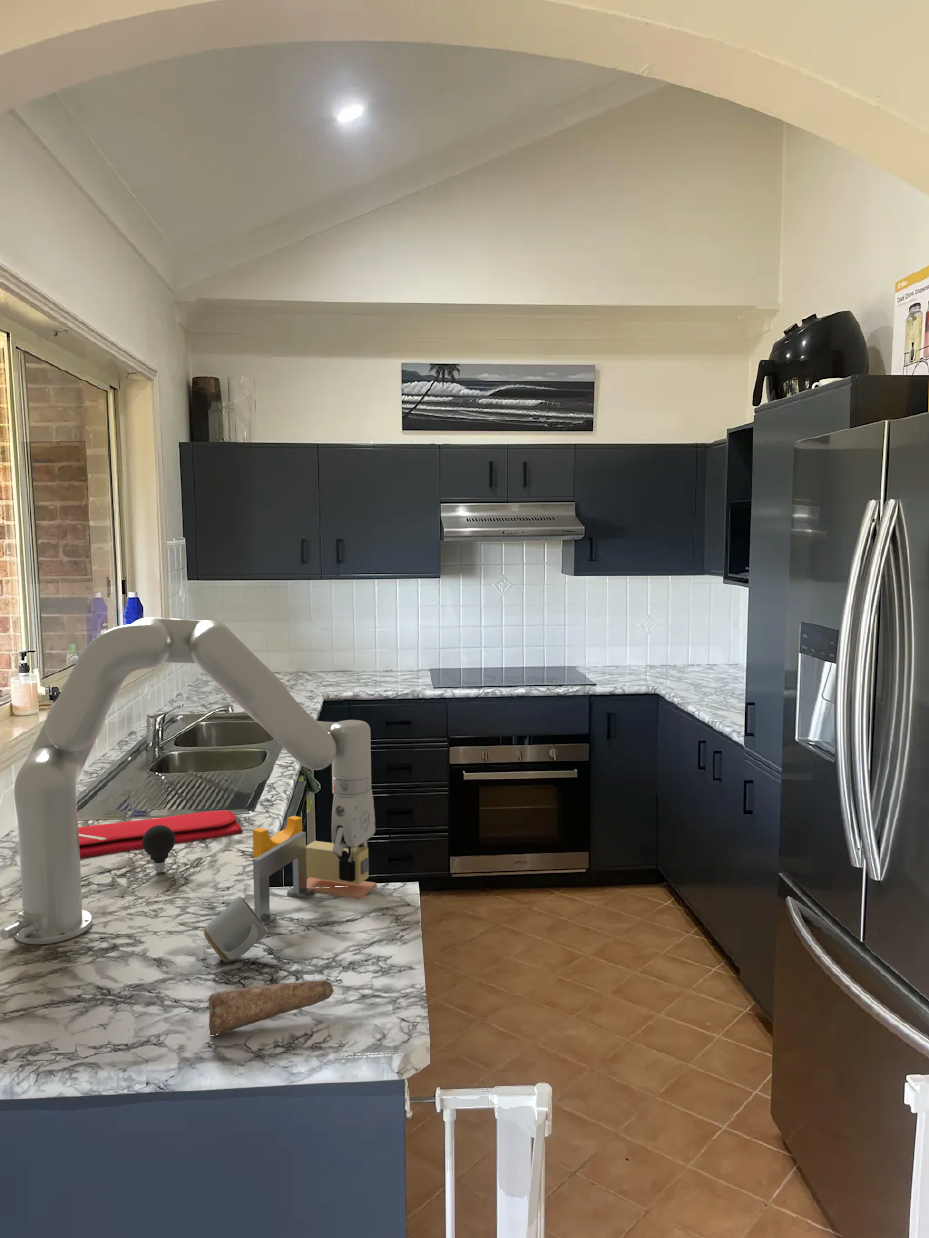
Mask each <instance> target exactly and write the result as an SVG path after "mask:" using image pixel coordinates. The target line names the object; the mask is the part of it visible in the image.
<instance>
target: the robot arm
mask: <svg viewBox="0 0 929 1238" xmlns="http://www.w3.org/2000/svg"><path fill="white" fill-rule="evenodd" d="M164 663H172V664H175V663H176V664H196V666H198V667H199V668H200V669H201V670H202V671H203V672H204V673H205V674H206V675H207V676H208V677H209V678H210V679H211V680H213V681H214V682H215V683H216V684H217V685H218V686H219V687H220V688H221V689H222V690H223V691H224V692H225V693H226V694H228V696H229V697H230V698H231V699H232V700H233V701H234V702H235V703H236V704H237V705H238V706H239V707H240V708H241V709H243V711H245V713H246V714H247V715H248V716H249V717H250V718H251V719H252V720H254V721H255V722H256V723H257V724H258V725H260V726H261V727H262V728H263V729H264V730H265V731H266V732H267V733H268V734H269V736H270V737H272V738H273V739H274V740H275V741H276V742H277V743H278V744H279V745H280V746H281V747H282V748H283V749H284V750H285V751H286V752H287V753H288V754H289V755H290V756H291V757H293V758H294V760H296V761H297V762H298V764H299V765H301V766H303V767H304V768H305V769H308V770H310V771H311V770H312V771H319V770H320V771H321V770H324V769H325V768H327V767H329V766H330V765H331V786H332V787H331V789H332V791H331V792H332V794H333V800H332V810H331V843H333V844H334V847H333V851H332V852H333V854H335V855H336V856H337V857H338V861H339V879H340V880H345V881H351V882H353V881H354V880H355V861H353V853H354V848H356V847H357V846H359V847H366V848H368V841H369V839H370V838H371V837H373V836H374V834H375V833H376V816H375V815H376V814H375V804H374V803H375V802H374V795H373V790H372V754H371V751H372V750H371V747H372V746H371V745H372V744H371V743H372V742H371V739H372V737H371V735H372V734H371V727H370V724H368V723H367V722H366V721H363V720H359V719H358V720H357V719H347V720H346V719H345V720H339V721H321V720H316V719H314V718H313V716H312V715H310V714H309V712H308V711H306V710H305V708H304V707H302V705H301V704H300V703H299V702H298V701H297V700H296V699H295V698H294V696H293V695H292V694H291V693H290V691H289V690H288V689H287V688H286V686H285V685H284V683H283V682H282V681H281V679H280V678H278V676H277V675H276V674H275V673H274V671H272V670H270V669H269V667H268V666H267V665H265V664H264V663H263V661H262V660H260V659H259V658H258V657H257V655H255V654H254V653H253V651H252V650H250V649H249V648H248V647H247V645H245V644H244V643H243V642H242V641H241V640H240V639H239V638H238V637H237V636H236V634H235V633H233V632H232V631H231V629H230V628H229V627H228V626H227V625H226V624H225V623H222V622H220V621H217V620H209V619H208V620H207V619H185V618H182V619H181V618H168V617H167V618H166V617H143V618H139V619H137V620H135V621H134V622H132V623H131V624H124V625H119V626H116V627H113V628H110V629H108V630H106V631H104V632H103V633H100V634H98V635H97V636H96V637H94V638H93V639H92V640H91V641H90V642H89V643H88V644H87V645H86V647H85V648H84V649H83V650H82V652H81V653H80V655H79V656H78V658H77V660H76V662H75V664H74V666H73V668H72V670H71V671H70V674H69V675H68V678H67V679H66V681H65V683H64V685H63V687H62V689H61V691H60V693H59V695H58V697H57V698H56V700H55V701H54V702H53V704H52V705H51V707H50V708H49V710H48V713H47V716H46V719H45V720H44V723H43V725H42V727H41V729H40V731H39V733H38V735H37V737H36V740H35V742H34V744H33V746H32V748H31V750H30V752H29V753H28V754H29V755H28V756H27V758H26V759H25V761H24V763H22V765H21V767H20V769H19V770H18V772H17V775H16V778H15V781H14V787H13V788H14V789H13V790H14V791H13V793H14V795H13V796H14V805H15V811H16V819H17V826H18V827H17V829H18V830H17V831H18V843H19V845H18V846H19V847H18V848H19V858H20V859H19V860H20V861H19V862H20V878H21V879H20V880H21V900H22V911H20V912H18V913H17V918H18V919H16V920H15V922H14V923H13V924H9V925H8V926H6V927H4V928H1V929H0V938H1V939H3V940H4V941H6V940H9V939H10V938H13V937H14V938H15V940H16V941H18V942H20V943H22V944H28V945H48V944H55V943H60V942H64V941H67V940H70V939H73V938H75V937H79V936H80V935H82V934H84V933H85V932H86V931H89V929H90V928H91V927H92V925H93V916H92V914H91V913H90V912H89V911H87V910H84V909H83V897H82V877H81V876H82V875H81V874H82V873H81V858H80V849H79V828H78V827H79V816H78V814H79V813H78V804H77V787H78V786H77V785H78V782H79V778H80V776H81V773H82V771H83V768H84V766H85V764H86V762H87V760H88V758H89V756H90V753H91V751H92V749H93V747H94V745H95V744H96V742H97V740H98V738H99V736H100V735H101V733H102V731H103V729H104V726H105V722H106V719H107V718H106V717H107V716H108V712H109V711H110V709H111V706H112V704H113V702H114V700H115V698H116V697H117V696H118V695H117V694H119V693H118V692H119V691H120V689H121V687H122V685H123V683H124V681H125V680H126V678H127V677H128V676H130V675H131V674H132V673H134V672H136V671H140V670H149V669H151V670H152V669H154V668H157V667H160V666H161V665H163V664H164ZM344 842H345V843H344ZM344 848H347V849H349V850H348V853H347V851H344V850H343V849H344Z"/></svg>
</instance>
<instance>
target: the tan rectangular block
mask: <svg viewBox="0 0 929 1238" xmlns="http://www.w3.org/2000/svg"><path fill="white" fill-rule="evenodd" d="M333 847H334V844H333V842H328V841H327V842H326V841H320V840H319V841H318V840H313V841H311V842H310V843H309V844H306V867H307V878H309V877H310V878H317V879H324V880H331V881H337V882H344V883H351V884H358V885H359V884H361V883H362V882H363V881H366V880H367V879H368V878H369V871H370V864H369V863H370V862H369V861H370V859H369V847H367V848H366V847H359V846H357V847H356V848H354V853H353V861H355V880H354V881H353V882H351V881H345V880H340V879H339V861H338V857H337V856H336V855H335V854H333V852H332V851H333ZM343 850H344V851H347V853H348V850H349V849H347V848H344V849H343Z"/></svg>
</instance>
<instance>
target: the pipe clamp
mask: <svg viewBox="0 0 929 1238" xmlns="http://www.w3.org/2000/svg"><path fill="white" fill-rule="evenodd" d="M286 819H287V820H286V821H287V823H286V824H285V825H286V826H285V828H284V829H283V830H282V829H281V830H279V831H277V832H276V833H275V834H274V835H273V836H272V837H270V834H269V829H266V828H262V827H258V828H254V829H252V850H253V851H252V853H253V859H255V858H257V857H258V856H260V855H262V854H263V853H265V852H267V851H269V850H270V849H272V848H274V847H275V846H277V845H279V844H280V843H282V842H284V841H285V840H287V839H289V838H290V837H292V836H294V835H295V834H297V833H299V832H303V817H301V816H298V815H291V816H289V817H287V818H286Z"/></svg>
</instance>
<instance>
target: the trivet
mask: <svg viewBox="0 0 929 1238" xmlns="http://www.w3.org/2000/svg"><path fill="white" fill-rule="evenodd" d="M375 885H377V882H373V881H366V880H365V881H363V882H362V883H361V884H359V885H358V884H351V883H344V882H337V881H331V880H324V879H317V878H310V877H307V888H310V889H313V893H314V892H315V893H321V894H327V895H332V896H340V897H347V898H351V899H356V900H361V899H363V897H364V896H366V895H367V894H368V893H369V892H370V891H372V890H373V889H374V888H376V886H375ZM335 886H348V887H335ZM312 887H313V888H312ZM315 887H330V888H315Z"/></svg>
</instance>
